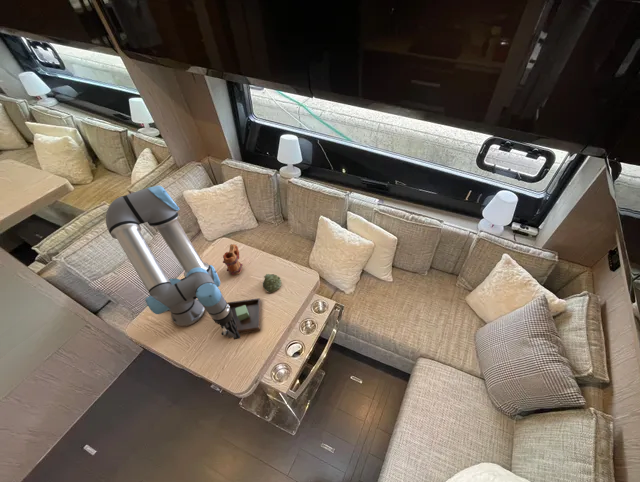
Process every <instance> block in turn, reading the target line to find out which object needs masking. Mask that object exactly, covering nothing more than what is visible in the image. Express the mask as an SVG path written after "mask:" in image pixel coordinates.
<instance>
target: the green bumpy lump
mask: <svg viewBox="0 0 640 482" xmlns="http://www.w3.org/2000/svg"><path fill="white" fill-rule="evenodd" d="M263 278H264V280H263V281H262V288H263V289H264V291H266V292H268V293H270V294H271V293H273V292H275V291H278V290H279V289H280V288H281V286H282V279H281V277H280V276H278V275H277V274H273V273H271V274H270V273H268V274H267V273H266V274H265V275H264V276H263Z"/></svg>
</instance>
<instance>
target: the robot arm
mask: <svg viewBox="0 0 640 482" xmlns="http://www.w3.org/2000/svg"><path fill="white" fill-rule="evenodd" d="M179 211H180V207H179V206H178V205H177V203H176V202H175V200H173V198H172V197H171V196H170V194H169V193H168V192H167V190H166V189H165V188H164V187H163V186H162V185H154V186H150V187H146V188H143V189H140V190H136V191H133V192H132V193H129V194H125V195H122V196H119V197H117V198H115V199H114V200H113V201H111V203H110V204H109V206H108V208H107V210H106V214H105V225H106V228H107V231H108V233H109V235H110V236H111V238H113V239H114V240H117V242H118V243H119V245H120V247H121V248H122V251H123V252H124V254H125V255H126V257H127V258H128V261H129V262H130V263H131V265H132V267H133V268H134V270H135V272H136V274H137V275H138V277H139V279H140V280H141V282H142V284H143V285H144V287H145V288H146V290H147V292H148V293H149V295H148V296H147V297H146V298H145V304H146V305H147V307H148V309H149V310H150V311H151V312H152V313H153V314H154V315H161V314H163V313H166V312H170V315H171V316H170V317H171V320H172V322H173V323H174V324H175V325H176V326H179V327H189V326H193V325H194V324H196V323H198V322H199V321H200V320H201V319H202V318H203V316H204V315H205V312H207V314H208V315H209V317H210V318H211V319H212V321H213V322H214V324H216V325H219V326H220V328H221V329H222V332H221V336H224V337H226V338H227V339H233V340H240V339H241V333H240V334H239V333H238V331H237V329H238V326H235V325H236V322H235V319H234V317H233V312H232V310H231V308H230V306H228V304H227V303H228V302H227V300H226V299H225V297H224V295H223V294H222V291H221V290H220V288H219V287H221V280H220V277H219V275H218V272H217V270H216V268H215V267H214V265H213V264H208V262H205V261H203V259H202V258H201V257H200V255H199V253H198V251H197V249H196V248H195V246H194V244H193V243H192V241H191V240H190V238H189V236H188V235H187V233H186V232H185V230H184V228H183V226H182V225H181V223H180V222H179V220H178V218H179V216H180V215H179V213H178V212H179ZM145 223H147V224H148V226H150V227H153V228H156V230H157V232H158V233H159V235H160V236H161V237H162V239H163V240H164V242H165V243H166V245H167V246H168V248H169V249H170V251H171V252H172V254H173V255H174V257H175V258H176V260H177V261H178V263H179V264H180V266H181V267H182V269H183V270H184V272H183V278H181V279H180V278H176V277H174V278H173V277H172V278H171V277H170V278H169V277H168V275H167V274H166V272H165V270H164V268H163V267H162V265H161V264H160V263H159V260H158V259H157V257H156V256H155V254H154V252H153V250H152V249H151V247H150V246H149V244H148V241H146V239H145V237H144V236H143V234H142V227H141V225H143V224H145Z"/></svg>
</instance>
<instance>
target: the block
mask: <svg viewBox="0 0 640 482" xmlns="http://www.w3.org/2000/svg"><path fill="white" fill-rule="evenodd" d="M235 310H236V314H237V317H238V319H239V320H240V321H241V320H244V319H247V318H249V313H248V310H247V308H246V306H245V305H243V306H240V307H238V308H235Z"/></svg>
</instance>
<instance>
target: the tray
mask: <svg viewBox="0 0 640 482" xmlns="http://www.w3.org/2000/svg"><path fill="white" fill-rule="evenodd" d="M227 304H228V306H230V308H231V310H232V312H233V317H234V319H235V322H236V325H235V326H238V329H237V331H238V333H239V334H240V335H241V334H246V333H251V332H260V331H261V315H262V314H261V312H262V311H261V310H262V301H261V298H260V297H258V298H250V299H244V300H237V301H229V302H227ZM243 305H245V306H246V308H247V310H248V313H249V318H247V319H244V320H241V321H240V320H239V319H238V317H237V314H236V310H235V308H238V307H240V306H243Z"/></svg>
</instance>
